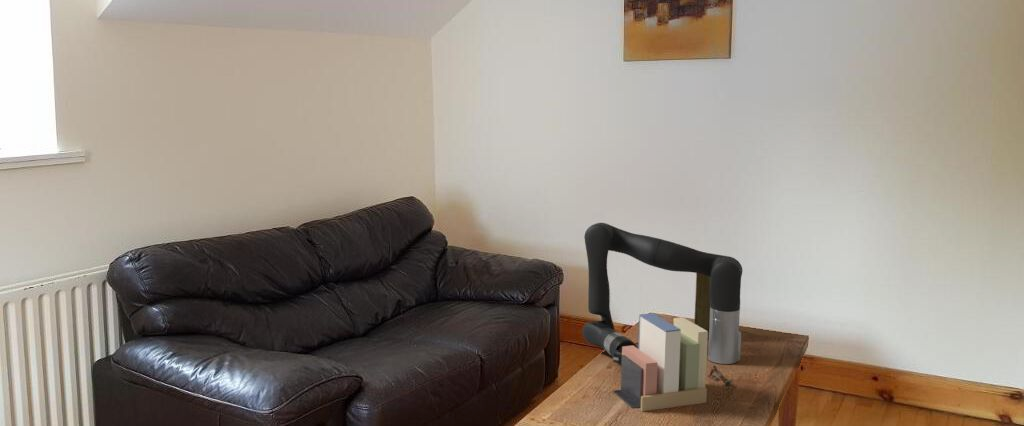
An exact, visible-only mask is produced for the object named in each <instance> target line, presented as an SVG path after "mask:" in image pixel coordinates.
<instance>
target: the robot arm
mask: <svg viewBox="0 0 1024 426" xmlns="http://www.w3.org/2000/svg"><path fill="white" fill-rule="evenodd" d="M584 233H585V234H584V245H585V250H586V251H585V252H586V257H587V266H588V269H587V270H588V292H587V294H588V300H587V301H588V302H587V303H588V305H587V306H588V307H587V308H588V312H589V314H592V315H597V316H600V318H601V320H593V321H587V322H586V323H584V325H583V327H582V332H581V333H582V337H583V338H584V340H585V342H587V343H588V344H590V345H592V346H595V347H598V348H602V349H603V350H605V351H606V352H607V354H609V355H610V356H611V357H612V362H613V363H615V364H620V365H621V363H622V347H623V346H632V345H633V346H635V347H636V348H638V346H636V344H635V342H634V341H633V340H631V338H628V337H627V336H626V335H624V334H622V333H620V332H618V331H617V330H616V329H615V325H614V321H613V318H612V313H611V309H610V307H611V306H610V302H611V298H610V297H611V296H610V294H611V293H610V281H609V276H608V256H609V252H610V251H611V252H615V253H621V254H623V255H627V256H630V257H632V258H633V259H636V260H637V261H640V262H641V263H643V264H646V265H649V266H650V267H651V266H652V267H654V268H658V269H662V270H664V271H671V272H680V273H681V272H683V273H684V272H685V273H695V274H696V273H699V274H702V275H705V276H708V277H711V280H710V322H709V339H708V343H707V360H708V361H710V362H713V363H715V364H719V365H720V364H721V365H731V364H735V363H737V362H740V361H741V349H742V348H741V347H742V346H741V345H742V332H741V331H740V312H741V311H740V310H741V284H742V276H743V267H742V264H741V263H740V262H739V260H737V259H736V258H735V257H732V256H729V255H728V256H727V255H721V254H716V253H709V252H706V251H705V252H704V251H700V250H697V249H695V248H692V247H689V246H685V245H682V244H680V243H676V242H673V241H670V240H666V239H661V238H657V237H654V236H649V235H644V234H643V235H642V234H637V233H633V232H629V231H627V230H623V229H621V228H618V227H615V226H614V225H611V224H608V223H605V222H597V223H594V224H591V225H590V226H589V227H588V228H587V229H586V231H584Z"/></svg>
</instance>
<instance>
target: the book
mask: <svg viewBox="0 0 1024 426" xmlns="http://www.w3.org/2000/svg"><path fill="white" fill-rule="evenodd" d="M695 277H696V278H695V296H694V297H695V299H694V300H695V301H694V321H693V323H694V324H696V325H697V326H699V327H701V328H703V329H705V330H706V331H708V338H707V340H709V322H710V280H711V277H708V276H705V275H702V274H699V273H695Z"/></svg>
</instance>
